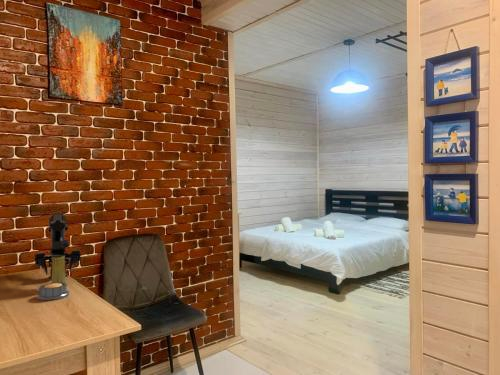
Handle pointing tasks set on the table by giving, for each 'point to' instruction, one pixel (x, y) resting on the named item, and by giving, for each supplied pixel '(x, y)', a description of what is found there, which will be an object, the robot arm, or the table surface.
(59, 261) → the vase
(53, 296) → the collar
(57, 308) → the table surface
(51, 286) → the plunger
